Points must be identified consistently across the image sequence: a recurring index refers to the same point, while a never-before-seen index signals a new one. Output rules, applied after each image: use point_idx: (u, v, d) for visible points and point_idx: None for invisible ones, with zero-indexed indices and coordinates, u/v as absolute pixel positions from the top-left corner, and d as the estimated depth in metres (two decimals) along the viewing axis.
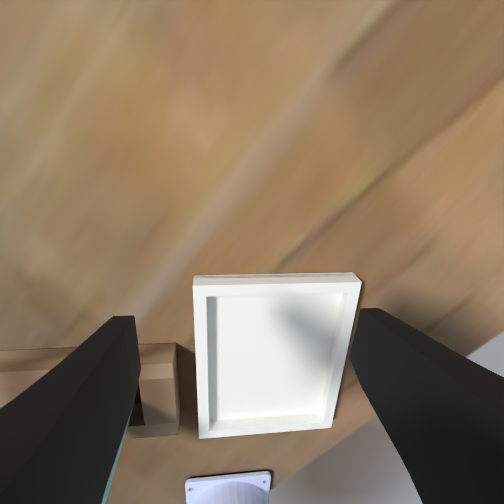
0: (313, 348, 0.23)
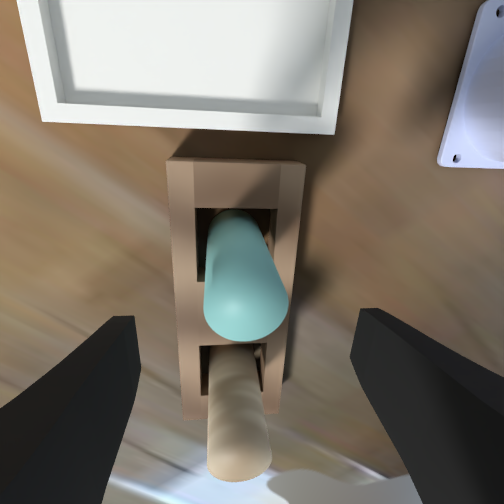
0: None
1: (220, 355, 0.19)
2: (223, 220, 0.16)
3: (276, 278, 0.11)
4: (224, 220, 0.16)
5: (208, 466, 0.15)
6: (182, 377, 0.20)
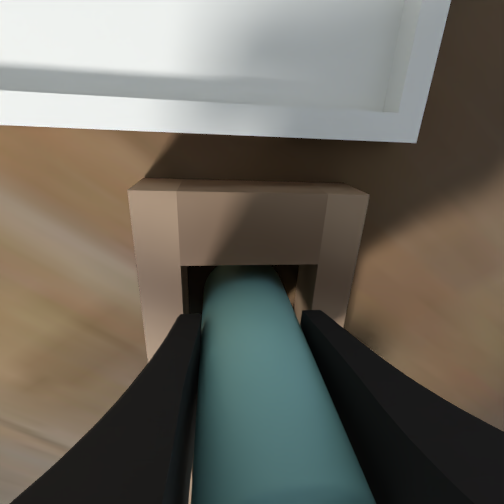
0: None
1: None
2: (228, 282, 0.10)
3: (361, 493, 0.05)
4: (230, 283, 0.10)
5: None
6: None
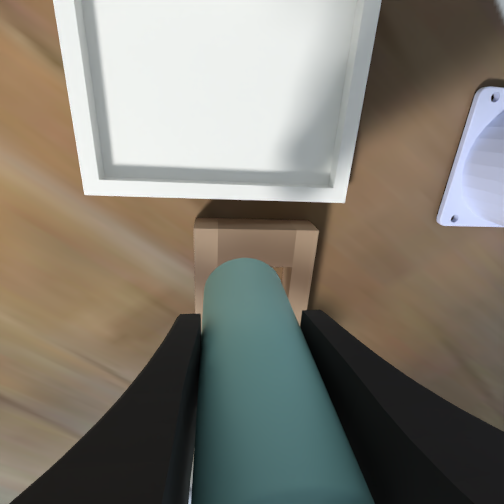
0: (206, 1, 0.13)
1: None
2: (228, 284, 0.10)
3: (360, 495, 0.05)
4: (230, 285, 0.10)
5: None
6: None
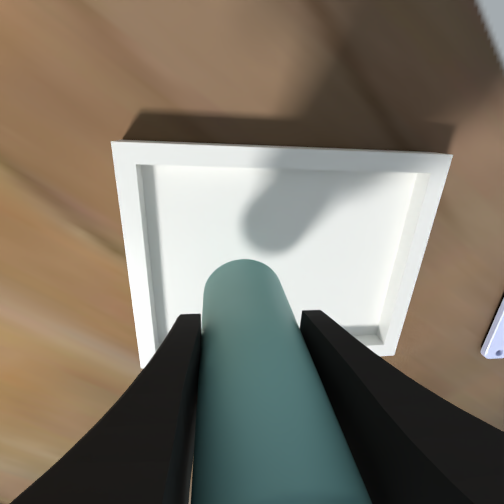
0: (266, 197, 0.14)
1: None
2: (226, 286, 0.10)
3: (356, 497, 0.05)
4: (228, 287, 0.10)
5: None
6: None
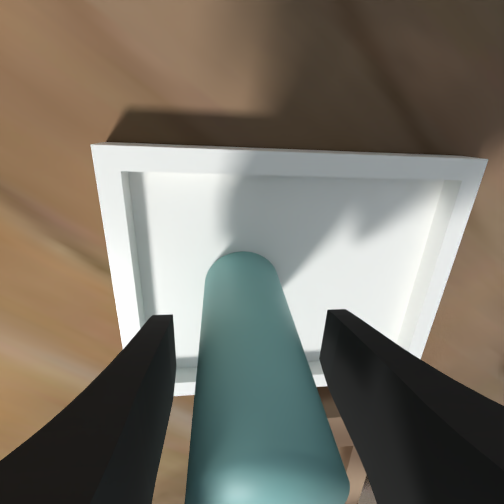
0: (273, 208, 0.12)
1: None
2: (225, 276, 0.11)
3: (328, 458, 0.05)
4: (227, 277, 0.11)
5: None
6: None
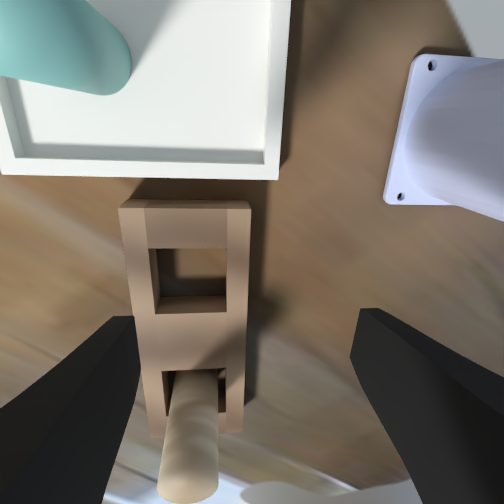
0: None
1: (182, 380, 0.21)
2: None
3: None
4: None
5: (158, 490, 0.16)
6: (147, 400, 0.21)
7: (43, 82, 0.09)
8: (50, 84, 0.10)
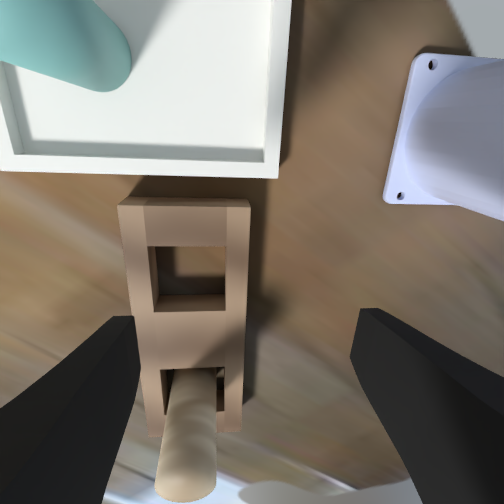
0: None
1: (180, 378, 0.21)
2: None
3: None
4: None
5: (156, 488, 0.16)
6: (145, 398, 0.21)
7: (34, 67, 0.09)
8: (42, 71, 0.10)
